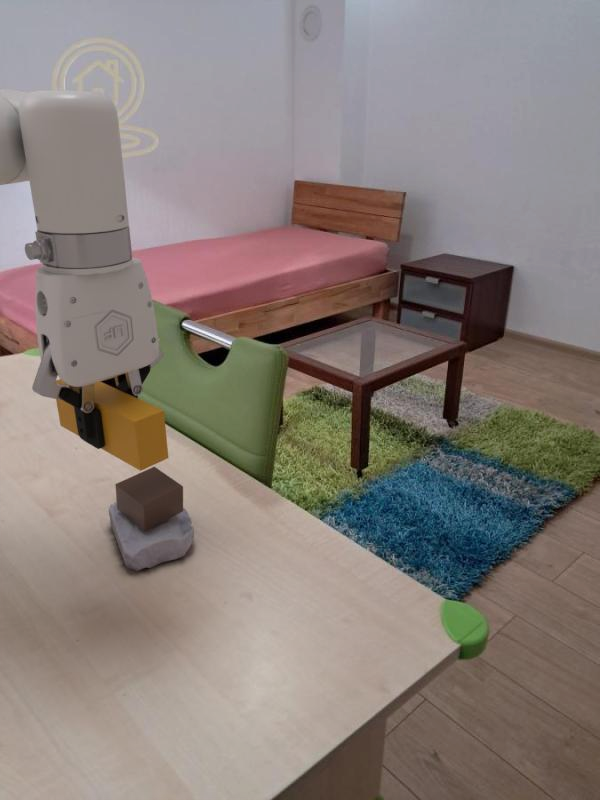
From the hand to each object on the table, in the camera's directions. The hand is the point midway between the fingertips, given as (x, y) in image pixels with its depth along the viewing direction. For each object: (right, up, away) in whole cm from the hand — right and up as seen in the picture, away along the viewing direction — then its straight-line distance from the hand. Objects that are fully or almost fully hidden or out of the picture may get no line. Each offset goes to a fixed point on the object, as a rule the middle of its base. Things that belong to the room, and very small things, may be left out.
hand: (111, 434), depth 62 cm
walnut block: (-1, -11, +19) cm, 22 cm away
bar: (0, -1, 0) cm, 1 cm away
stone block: (0, -15, +21) cm, 26 cm away
